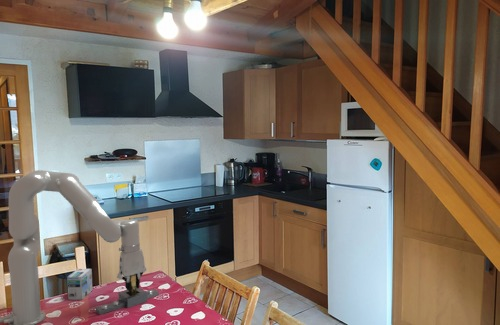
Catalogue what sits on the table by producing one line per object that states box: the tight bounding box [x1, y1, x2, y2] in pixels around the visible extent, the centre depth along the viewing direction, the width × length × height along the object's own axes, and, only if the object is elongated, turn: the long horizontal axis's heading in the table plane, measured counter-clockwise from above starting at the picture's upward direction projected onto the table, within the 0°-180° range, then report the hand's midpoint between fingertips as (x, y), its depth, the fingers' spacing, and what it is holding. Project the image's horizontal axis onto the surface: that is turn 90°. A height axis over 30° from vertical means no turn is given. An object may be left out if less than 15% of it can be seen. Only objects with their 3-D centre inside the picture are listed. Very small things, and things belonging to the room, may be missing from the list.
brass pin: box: [129, 274, 137, 295], centre depth 164 cm, size 3×3×10 cm
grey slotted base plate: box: [95, 287, 160, 316], centre depth 163 cm, size 27×9×4 cm, turn 133°
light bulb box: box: [66, 268, 93, 301], centre depth 172 cm, size 11×7×11 cm, turn 179°
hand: (132, 288), depth 164 cm, fingers closed on brass pin, 3 cm apart
